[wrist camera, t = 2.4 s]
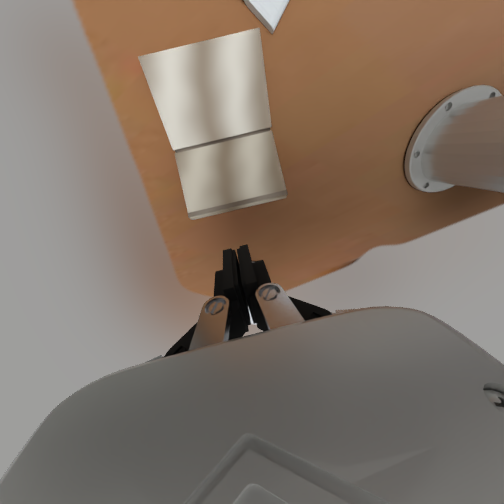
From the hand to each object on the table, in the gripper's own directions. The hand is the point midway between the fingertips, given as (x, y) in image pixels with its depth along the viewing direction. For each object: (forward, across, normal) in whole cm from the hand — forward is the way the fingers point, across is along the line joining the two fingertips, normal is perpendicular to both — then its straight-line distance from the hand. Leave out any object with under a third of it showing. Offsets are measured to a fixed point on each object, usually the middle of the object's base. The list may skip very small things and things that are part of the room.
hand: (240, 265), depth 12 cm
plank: (+14, -1, -4) cm, 15 cm away
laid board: (+16, -1, -12) cm, 20 cm away
